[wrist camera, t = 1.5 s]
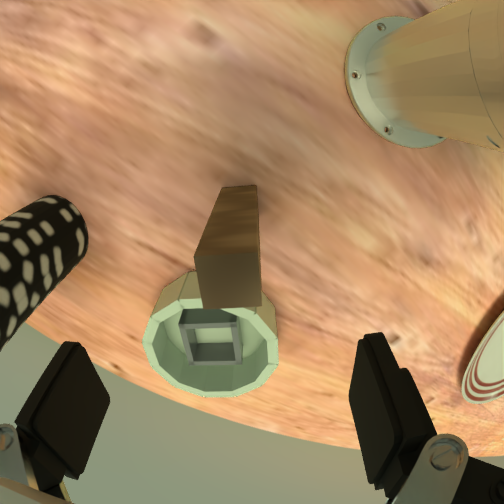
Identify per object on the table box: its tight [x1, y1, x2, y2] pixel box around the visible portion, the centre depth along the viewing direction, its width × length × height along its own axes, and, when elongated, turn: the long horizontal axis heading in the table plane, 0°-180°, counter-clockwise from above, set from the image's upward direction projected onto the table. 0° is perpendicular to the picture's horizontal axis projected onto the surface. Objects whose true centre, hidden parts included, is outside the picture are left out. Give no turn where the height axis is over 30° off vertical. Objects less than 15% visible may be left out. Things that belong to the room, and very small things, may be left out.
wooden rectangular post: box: [194, 185, 262, 309], centre depth 22 cm, size 3×3×14 cm
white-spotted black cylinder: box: [0, 195, 88, 351], centre depth 20 cm, size 8×8×20 cm
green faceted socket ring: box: [142, 271, 279, 397], centre depth 31 cm, size 13×13×5 cm
